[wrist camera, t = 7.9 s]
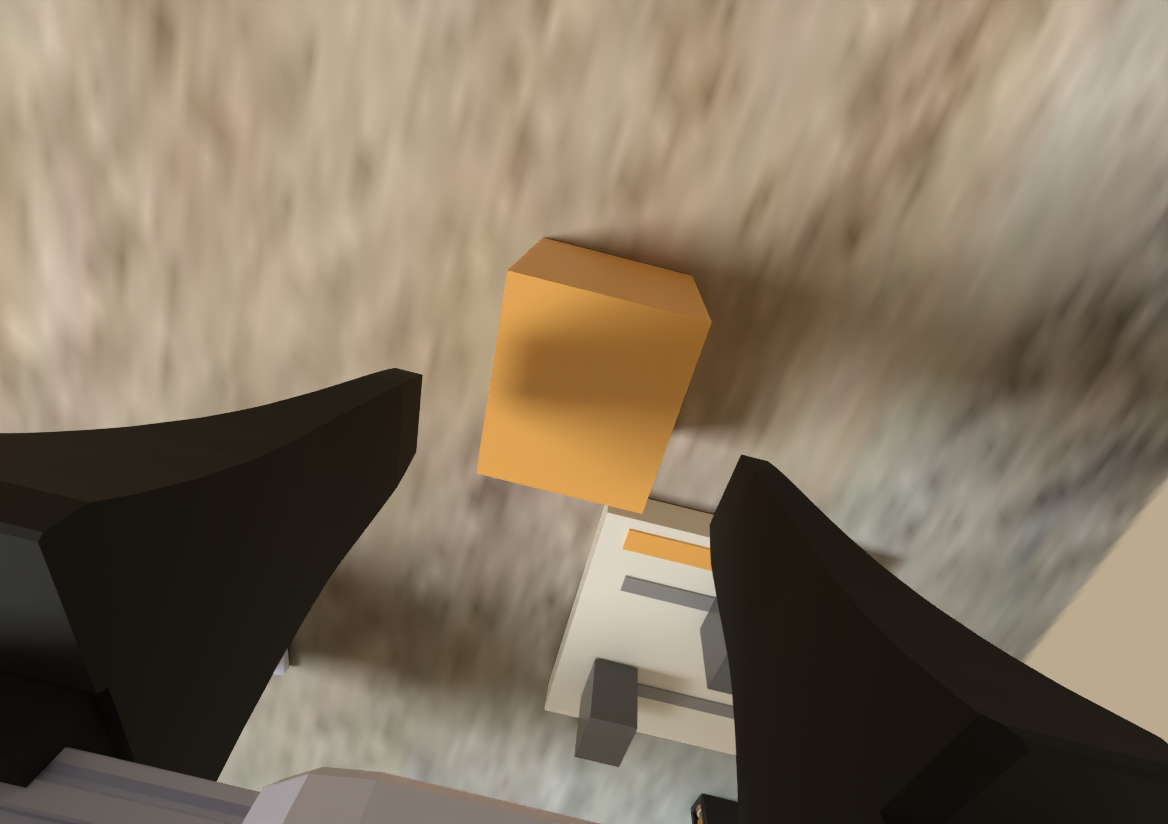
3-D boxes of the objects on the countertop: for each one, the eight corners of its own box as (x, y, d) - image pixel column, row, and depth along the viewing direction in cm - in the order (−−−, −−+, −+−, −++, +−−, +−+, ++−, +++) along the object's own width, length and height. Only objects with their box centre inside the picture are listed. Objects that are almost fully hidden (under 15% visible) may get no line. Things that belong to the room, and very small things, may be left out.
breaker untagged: (580, 697, 25) (574, 756, 22) (595, 658, 23) (590, 717, 21) (620, 707, 25) (618, 766, 22) (637, 668, 23) (637, 728, 21)
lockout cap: (513, 398, 19) (476, 473, 15) (543, 237, 16) (507, 270, 12) (641, 430, 19) (642, 514, 15) (692, 275, 16) (711, 322, 12)
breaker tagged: (699, 629, 22) (707, 688, 19) (724, 579, 20) (735, 637, 18) (744, 640, 22) (758, 700, 19) (772, 591, 20) (790, 650, 18)
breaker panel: (548, 682, 27) (543, 711, 25) (609, 489, 21) (607, 514, 19) (749, 730, 27) (755, 762, 26) (868, 552, 21) (884, 582, 19)
